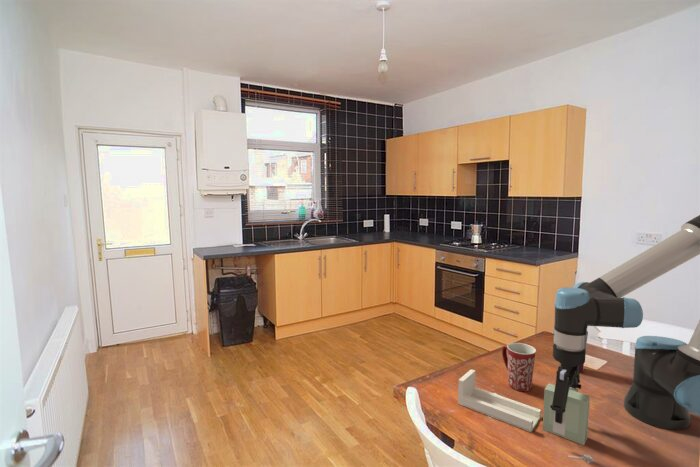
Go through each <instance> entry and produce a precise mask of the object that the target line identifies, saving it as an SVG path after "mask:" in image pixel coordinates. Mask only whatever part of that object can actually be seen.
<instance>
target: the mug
mask: <svg viewBox="0 0 700 467" xmlns="http://www.w3.org/2000/svg"><path fill="white" fill-rule="evenodd" d="M536 353H537V349H536V348H535V347H534V346H532V345H529V344H527V343H523V342H522V343H521V342H512V343H511V342H510V343H508V344H507V345H504V346H503V347H502V351H501V354H502V359H503V362H504V365H505V368H506V370H507V384H508V386H509V388H512V389H513V390H515V391H519V392H520V391H521V392H529V391H530V390H531V389H532V386H533V376H534V370H535V369H534V367H535V358H536Z"/></svg>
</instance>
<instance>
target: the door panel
mask: <svg viewBox="0 0 700 467" xmlns="http://www.w3.org/2000/svg"><path fill="white" fill-rule="evenodd" d="M554 391H555V384H552V383H550V382H549V383H548V384H546V386H545V388H544V391H543V394H544V396H543V412H542V413H543V414H542V415H543V416H542V417H543V418H542V430H543V431H546V432H548V433H551V434H553V435H556V436H559V437H561V438H564V439H566V440H569V441H572V442H574V443H576V444H580V445H582V446H585V444H586V442H587V440H588V433H589V432H588V431H589V416H590V415H589V414H590V400H591V398H590V396H591V395H589V394H585V393H581V392H579V391H578V392H576V391H572V390H569V393H568V398H567V403H566V408H565V410H566V426H565V435H561V434H559V433H556V432H553V415H554V410H552V408H550V405H552V403H553V397H554Z"/></svg>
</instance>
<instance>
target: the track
mask: <svg viewBox="0 0 700 467" xmlns="http://www.w3.org/2000/svg"><path fill="white" fill-rule="evenodd" d="M457 390H458V393H457V396H458V397H457V398H458V399H457V404H458V405H461V406H463V407H465V408H468V409H471V410H473V411H475V412H478V413H481V414H483V415H486V416H488V417H490V418H493V419H496V420H498V421H501V422H503V423H506V424H508V425H510V426H513V427H516V428H518V429H521V430H524V431H526V432H529V433H532V432H533V430H534V429H535V427H536V426H537V424H538V422H539V421H540V419H541V418H542V416H541V414H542V413H541V412H542V410H541V409H540V408H537V407H534V406H532V405H528V404H525V403H522V402H520V401H517V400H513V399H511V398H508V397H505V396H503V395H499V394H498V393H497V394H496V393H494V392H491V391H489V390H486V389H482V388H479V387H477V386H476V370H474V369H469V370H468V371H467V372H466V373H465V374H464V375H462V376H461V377H460V378H459V379H458V389H457Z"/></svg>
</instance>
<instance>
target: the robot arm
mask: <svg viewBox="0 0 700 467" xmlns="http://www.w3.org/2000/svg"><path fill="white" fill-rule="evenodd" d="M697 256H700V214H699V215H697V216H696V217H695V216H694V217H693V218H692V219H690V220H688V221H686V222H685V223H683V224H682V225H681V227H680V230H679V231H676V232H675V233H673V234H672V235H670V236H668V237H666V238H665V239H662V241H660V242H658V243H657V244H655V245H653V246H651V247H649V248H648V249H646V250H644V251H642V252H641V253H639V254H637V255H636V256H634V257H632V258H630V259H629V260H627V261H625V262H624V263H622V264H620V265H618V266H616V267H615V268H613V269H611V270H610V271H608V272H606V273H605V274H603V275H601V276H600V277H597V278H596V279H594V280H592V281H591V282H588V281H581V282H578V283H576V284H574V285H573V287H572V286H568V287H567V286H566V287H564V286H563V287H561V288H558V289H557V290H556V292H555V299H554V300H555V301H554V325H553V327H554V328H553V329H552V330H551V333H552V335H553V345H552V358H553V359H554V360H555V361H556V362H558V363H559V364H560V366H558V368H557V370H556V372H555V373H556V379H555V384H554V385H555V391H554V397H553V403H552V405H550V408H552V410H554V415H553V432H556V433H559V434H561V435H565V426H566V410H565V408H566V403H567V398H568V393H569V390H572V391H576V392H579V389H580V390H582V384H580V383H581V379H580V373H579V365H583V364H584V365H585V363H586V355H587V354H586V353H587V344H586V342H587V343H588V336H587V331H588V327H603V328H604V327H605V328H619V329H625V328H626V329H627V328H629V329H630V328H638V327H639V326H641V324H642V322H643V318H644V312H643V308H642V305H641V303H640V302H639V301H638V300H637V299H635V298H629V297H626V295H629V294H630V293H632V292H634V291H636V290H637V289H639V288H641V287H643V286H644V285H647V284H648V283H650V282H652V281H654V280H655V279H657V278H659V277H661V276H663V275H665V274H667V273H669V272H670V271H672V270H673V269H675V268H677V267H679V266H681V265H683V264H685V263H686V262H689V261H690V260H692V259H694V258H696V257H697ZM585 348H586V350H585ZM633 362H634V364H633V376H632V377H633V378H632V383H631V385H630V387H629V389H628V391H627V392H626V393H625V394H626V395H625V396H624V398H623V408H624V409H625V411H626V412H628V414H629V415H631V416H632V417H634V418H635V419H638V420H639V421H641V422H644V423H645V424H648V425H652V426H653V427H657V428H661V429H666V430H674V431H676V430H677V431H679V430H685V429H687V427H688V426H689V425H690V426H691V414H692V413H693V414H695V415H696V416H699V417H700V319H699V321H698V323H697V324H696V327H695V329H694V331H693V334H692V335H691V338H690V340H689V342H688V343H687V342H685V341H683V340H680V339H677V338H672V337H668V336H667V337H666V336H657V335H642V336H639V337H638V338H637V339H636V341H635V346H634V361H633ZM690 412H691V414H690ZM690 426H689V427H690ZM689 427H688V428H689Z"/></svg>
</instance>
